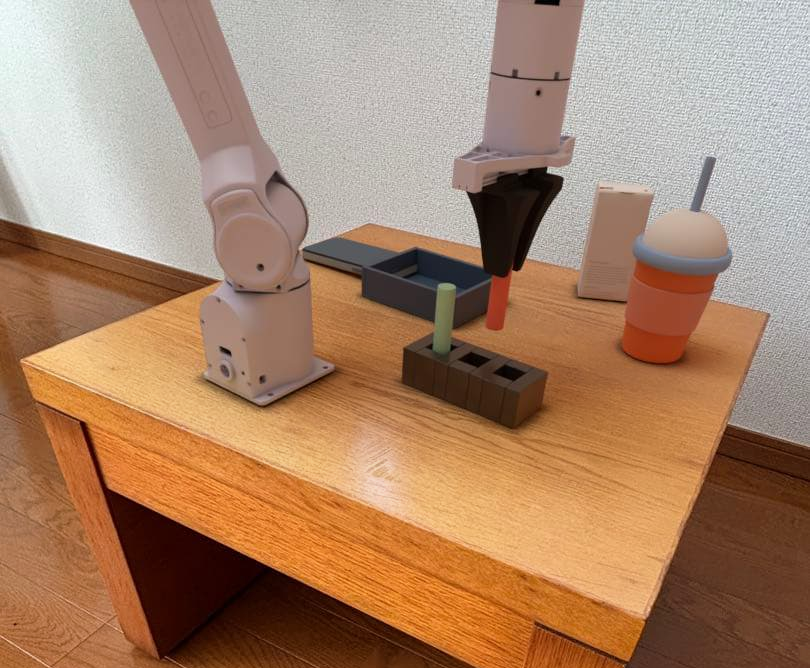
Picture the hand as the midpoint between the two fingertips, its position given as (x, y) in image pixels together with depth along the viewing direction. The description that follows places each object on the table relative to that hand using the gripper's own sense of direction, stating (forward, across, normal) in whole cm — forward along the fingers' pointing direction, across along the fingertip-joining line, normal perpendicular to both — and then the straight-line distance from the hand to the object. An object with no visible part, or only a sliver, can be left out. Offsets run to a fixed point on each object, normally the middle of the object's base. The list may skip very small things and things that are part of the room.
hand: (502, 271), depth 55 cm
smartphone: (+10, +15, +29) cm, 35 cm away
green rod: (+10, -3, +3) cm, 11 cm away
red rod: (+5, 0, 0) cm, 5 cm away
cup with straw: (+10, +18, -9) cm, 23 cm away
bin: (+10, +13, +16) cm, 23 cm away
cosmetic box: (+10, +29, +2) cm, 31 cm away
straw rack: (+10, -3, 0) cm, 11 cm away
